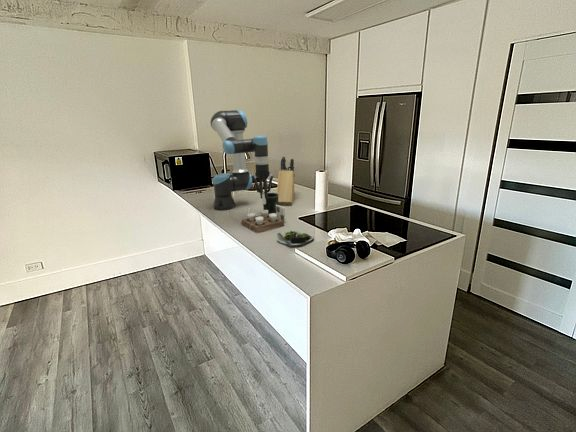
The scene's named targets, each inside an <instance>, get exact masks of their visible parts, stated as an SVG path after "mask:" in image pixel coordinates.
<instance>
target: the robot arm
mask: <svg viewBox="0 0 576 432" xmlns="http://www.w3.org/2000/svg"><path fill="white" fill-rule="evenodd" d="M210 127H211V128H212V130H213V131H214V132H216V133H217V135H218V137H219V138H220V140H221V141H222V151H223V152H224V154H226V155H232V162H233V163H232V165H233V170H232V171H231V174H230V173H229V172H224V173H219V174H216V175H214V176H213V179H212V184H213V191H214V192H213V193H214V198H213V200H214V201H213V207H212V208H213V210H216V211H229V210H231V209H234V208H236V202H235V200H234V198H233V195H232V194H233V193H234V192H240V191H246V190H249V189H251V188H252V186H253V182H254V186H255V189H256V193H259V194H260V195H259V196H260V199H262V205H263V204H266V199H267V193H271V189H272V183H273V179H274V177H275V176H274V175H273V174H271V172H270V170H269V169H270V168H269V166H270V165H269V147H268V145H269V144H268V137H267V136H266V135H255V136H253V138H247V139H244V133H245V131H246V128H248V119H247V115H246V113H245V112H244V111H243V110H240V109H239V110H238V109H237V110H234V109H233V110H218V111H216V112H215V113H214V114H213V115H212V117H211V118H210ZM246 153H254V162H255V163H254V164H255V166H254V167H255V173H254V175H252V174H251V173H250V172H249V169H247V164H246V163H247V162H246ZM268 178H269V180H268ZM257 179H258V180H257ZM258 182H259V183H258ZM267 182H268V183H267ZM232 192H233V193H232Z"/></svg>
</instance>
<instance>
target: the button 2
mask: <svg viewBox="0 0 576 432" xmlns="http://www.w3.org/2000/svg"><path fill="white" fill-rule="evenodd" d="M258 216H259V217H256V222H257V226H261V225H263V224H262V221H264V220H263V217H261V216H260V215H258Z"/></svg>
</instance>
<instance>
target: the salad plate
mask: <svg viewBox="0 0 576 432" xmlns="http://www.w3.org/2000/svg"><path fill="white" fill-rule="evenodd" d="M277 235H278V236H277ZM277 235H276V236H277V238H276V240H277V242H279V243H280V244H283V245H286V246H288V247H291V248H301V247H304V246H306V245H308V244H310V243H312V241H314V236H313V235H312V234H309V233H307V232H306V233H305V232H302V231H297V230H293V231H292V230H290V231H287V232H286V231H284V234H282V233H281V232H278V233H277ZM303 245H304V246H303ZM300 246H301V247H300Z"/></svg>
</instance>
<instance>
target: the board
mask: <svg viewBox="0 0 576 432" xmlns="http://www.w3.org/2000/svg"><path fill="white" fill-rule="evenodd" d="M259 216H261V217H262V214H261V215H257V216H256V215H255V217H254V221H253V222H249V218H248V217H247V218H243V219H241V225H242V226H243V227H245V228H247V229H249V230H251V231H252V232H254V233H256V234H259V233H263V232H266V231H270V230H275V229H277V228H280V227H281V228H282V227H284V226H285V222H284V221H283V220H281V219H278V218H276V222H271V219H270V218H269V214H267V218H265V219H263V220H264V221H262V224H263V225H261V226H257V222H256V217H259Z"/></svg>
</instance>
